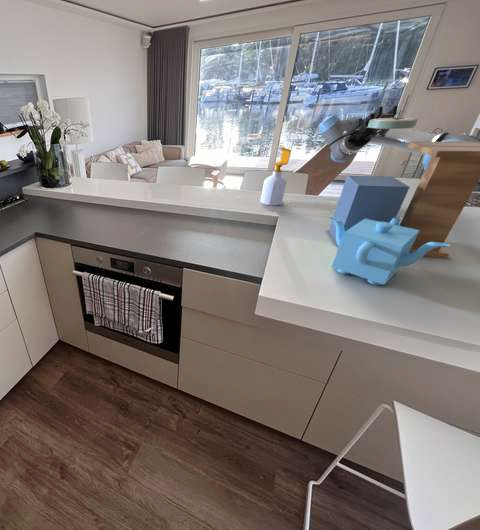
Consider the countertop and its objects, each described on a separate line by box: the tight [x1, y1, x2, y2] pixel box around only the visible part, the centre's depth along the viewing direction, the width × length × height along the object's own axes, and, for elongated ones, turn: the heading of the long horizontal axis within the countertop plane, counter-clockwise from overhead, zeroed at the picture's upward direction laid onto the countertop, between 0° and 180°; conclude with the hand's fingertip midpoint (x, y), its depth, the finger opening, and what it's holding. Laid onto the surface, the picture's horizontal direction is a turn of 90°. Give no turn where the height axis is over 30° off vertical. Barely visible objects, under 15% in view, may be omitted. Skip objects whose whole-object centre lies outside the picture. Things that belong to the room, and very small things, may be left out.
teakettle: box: [328, 216, 451, 286], centre depth 77 cm, size 19×19×15 cm
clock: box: [368, 112, 418, 129], centre depth 91 cm, size 22×11×3 cm, turn 159°
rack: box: [398, 141, 480, 259], centre depth 85 cm, size 16×14×30 cm
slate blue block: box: [328, 175, 411, 247], centre depth 92 cm, size 12×12×20 cm
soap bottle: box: [259, 146, 291, 207], centre depth 128 cm, size 9×9×25 cm
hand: (388, 110), depth 90 cm, fingers closed on clock, 3 cm apart
